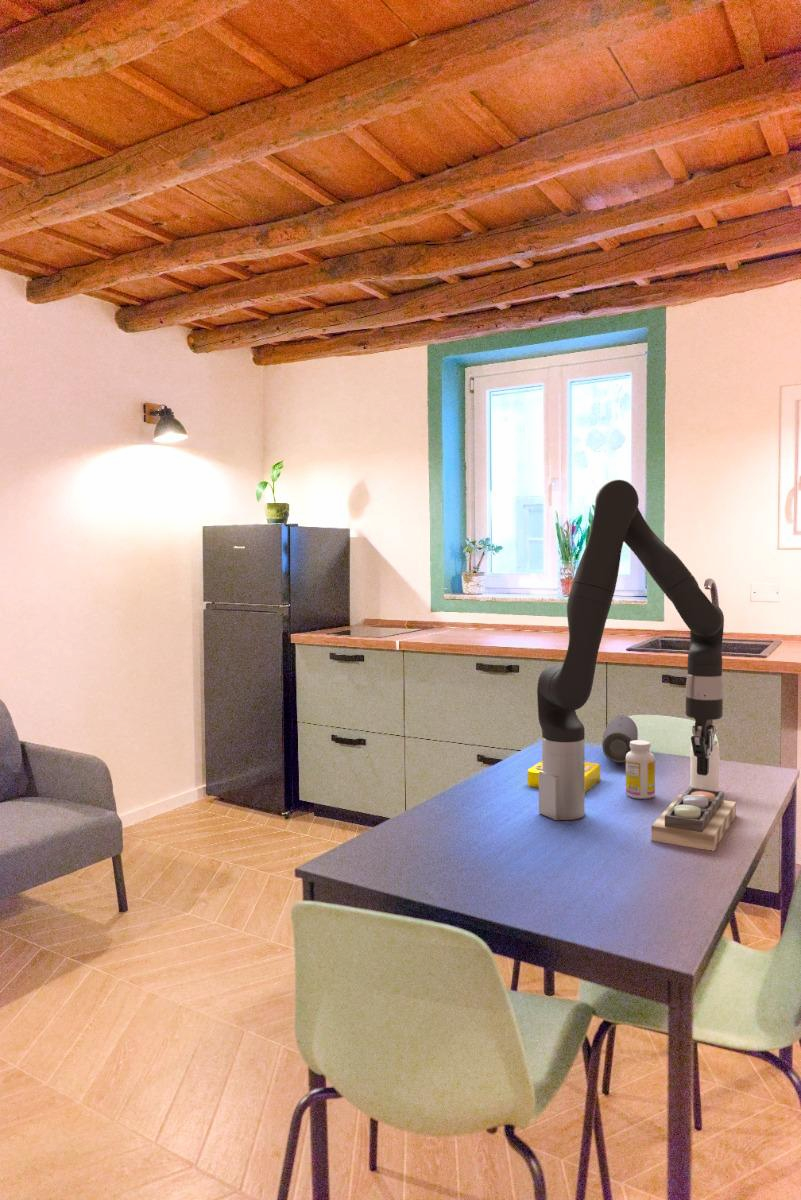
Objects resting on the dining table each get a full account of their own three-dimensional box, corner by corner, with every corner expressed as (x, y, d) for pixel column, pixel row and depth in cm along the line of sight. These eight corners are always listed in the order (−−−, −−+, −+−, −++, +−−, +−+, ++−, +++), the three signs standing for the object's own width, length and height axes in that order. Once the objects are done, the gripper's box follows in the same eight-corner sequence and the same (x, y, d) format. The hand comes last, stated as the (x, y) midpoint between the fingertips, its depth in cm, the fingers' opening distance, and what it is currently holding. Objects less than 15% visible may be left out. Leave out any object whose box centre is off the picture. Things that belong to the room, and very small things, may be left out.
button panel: (713, 851, 160) (714, 824, 159) (651, 840, 166) (651, 815, 166) (735, 815, 180) (736, 792, 180) (679, 806, 186) (679, 784, 186)
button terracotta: (712, 807, 176) (712, 799, 176) (688, 804, 178) (688, 796, 178) (717, 801, 180) (717, 793, 180) (693, 798, 183) (693, 790, 182)
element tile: (582, 796, 197) (582, 776, 197) (524, 787, 205) (524, 768, 204) (602, 780, 210) (602, 761, 209) (547, 772, 217) (547, 754, 217)
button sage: (697, 822, 163) (697, 814, 163) (671, 818, 166) (671, 810, 165) (702, 815, 167) (702, 806, 167) (677, 811, 170) (677, 803, 170)
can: (721, 795, 195) (721, 745, 194) (692, 793, 196) (692, 744, 195) (716, 787, 201) (716, 738, 200) (688, 785, 202) (688, 737, 201)
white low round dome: (705, 812, 169) (705, 803, 169) (680, 808, 172) (680, 799, 172) (710, 805, 174) (710, 796, 173) (686, 801, 176) (686, 793, 176)
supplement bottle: (651, 791, 198) (652, 739, 197) (657, 800, 192) (657, 745, 191) (623, 791, 199) (623, 738, 198) (628, 799, 192) (628, 745, 191)
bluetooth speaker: (605, 746, 243) (605, 712, 242) (638, 747, 240) (638, 714, 239) (600, 766, 221) (600, 729, 221) (636, 768, 218) (636, 731, 218)
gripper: (716, 701, 170) (714, 784, 171) (728, 692, 181) (727, 769, 182) (678, 698, 174) (677, 779, 175) (693, 689, 185) (692, 765, 186)
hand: (702, 774), depth 178 cm, fingers closed
